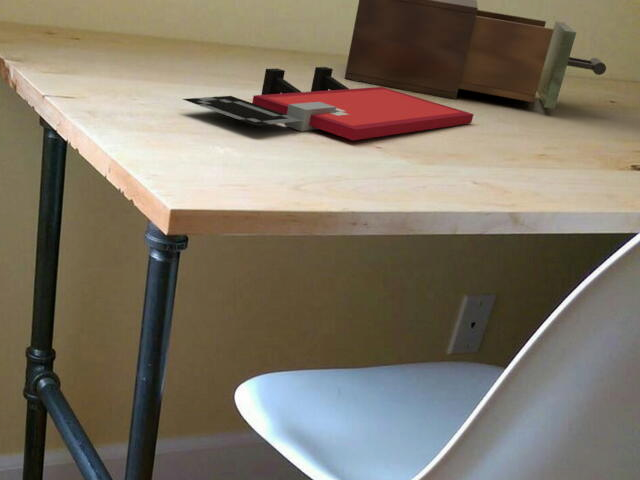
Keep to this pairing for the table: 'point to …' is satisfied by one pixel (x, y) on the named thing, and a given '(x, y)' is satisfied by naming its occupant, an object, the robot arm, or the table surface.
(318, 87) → the red board with handle
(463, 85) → the drawer
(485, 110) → the table surface
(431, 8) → the cabinet
